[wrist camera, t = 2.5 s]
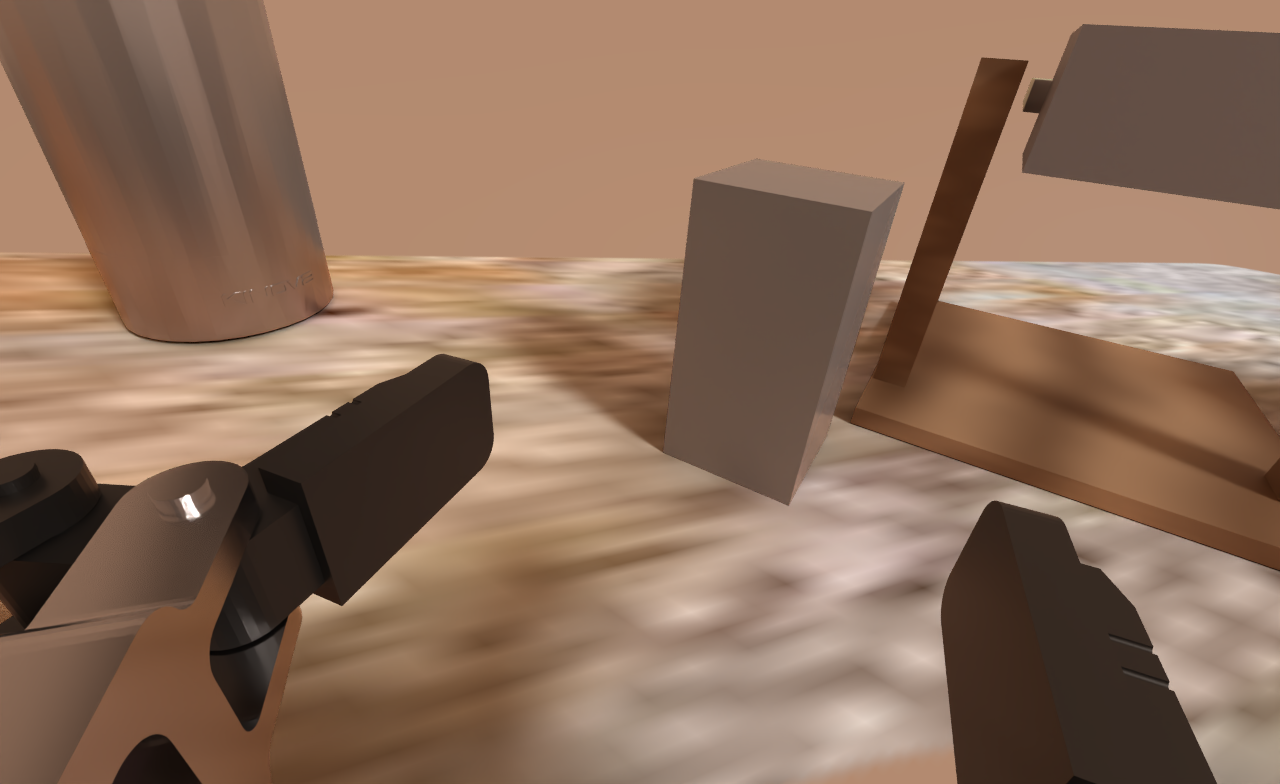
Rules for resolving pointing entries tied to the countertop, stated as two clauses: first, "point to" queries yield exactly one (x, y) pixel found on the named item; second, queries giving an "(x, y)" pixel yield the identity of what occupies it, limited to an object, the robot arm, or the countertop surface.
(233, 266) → the robot arm
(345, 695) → the countertop surface
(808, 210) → the slate block
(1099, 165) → the trapdoor
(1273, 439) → the stand
